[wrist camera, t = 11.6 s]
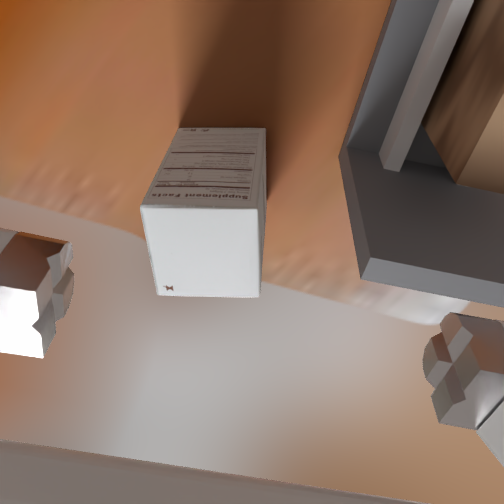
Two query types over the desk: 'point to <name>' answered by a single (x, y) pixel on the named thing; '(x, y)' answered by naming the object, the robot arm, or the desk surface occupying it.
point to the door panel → (472, 102)
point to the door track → (417, 169)
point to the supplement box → (208, 213)
